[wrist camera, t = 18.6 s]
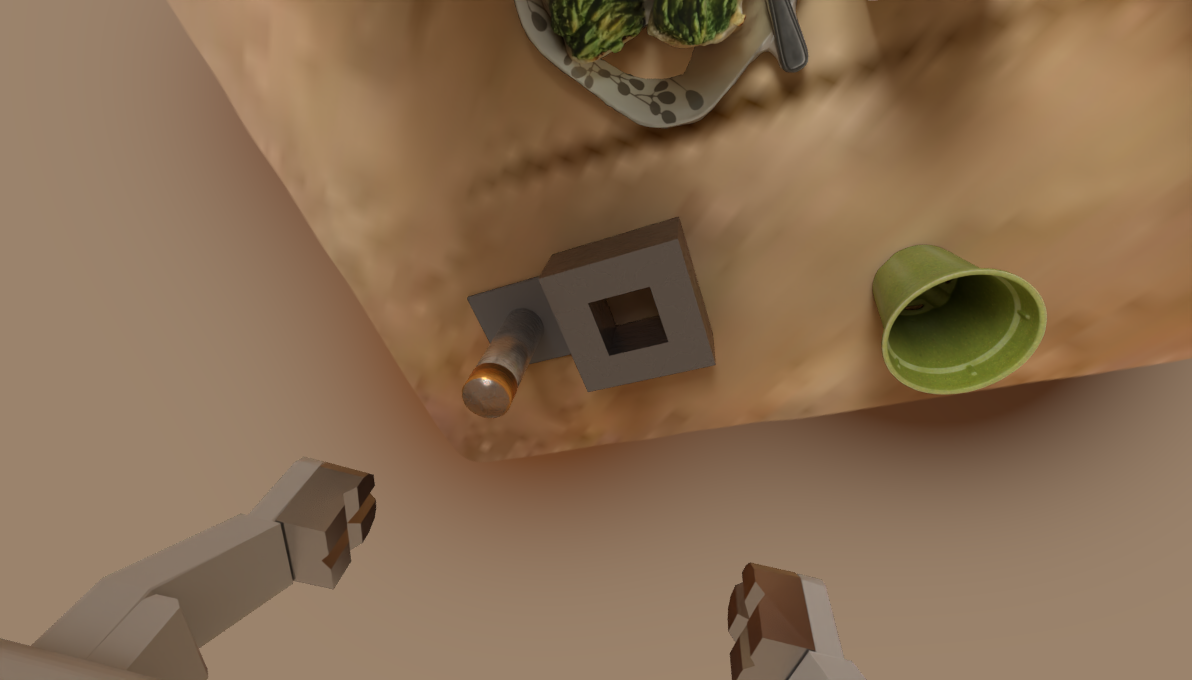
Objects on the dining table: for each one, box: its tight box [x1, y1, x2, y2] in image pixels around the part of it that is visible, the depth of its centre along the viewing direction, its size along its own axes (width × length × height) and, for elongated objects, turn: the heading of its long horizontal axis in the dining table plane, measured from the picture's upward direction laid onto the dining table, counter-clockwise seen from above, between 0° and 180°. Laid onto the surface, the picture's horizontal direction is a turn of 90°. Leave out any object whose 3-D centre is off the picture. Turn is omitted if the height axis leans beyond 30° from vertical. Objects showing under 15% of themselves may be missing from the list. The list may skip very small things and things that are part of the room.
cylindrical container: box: [462, 308, 544, 418], centre depth 44 cm, size 4×4×11 cm
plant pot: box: [873, 245, 1047, 395], centre depth 38 cm, size 9×9×9 cm
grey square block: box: [538, 217, 716, 392], centre depth 44 cm, size 11×11×5 cm
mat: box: [467, 276, 571, 364], centre depth 49 cm, size 8×8×1 cm
